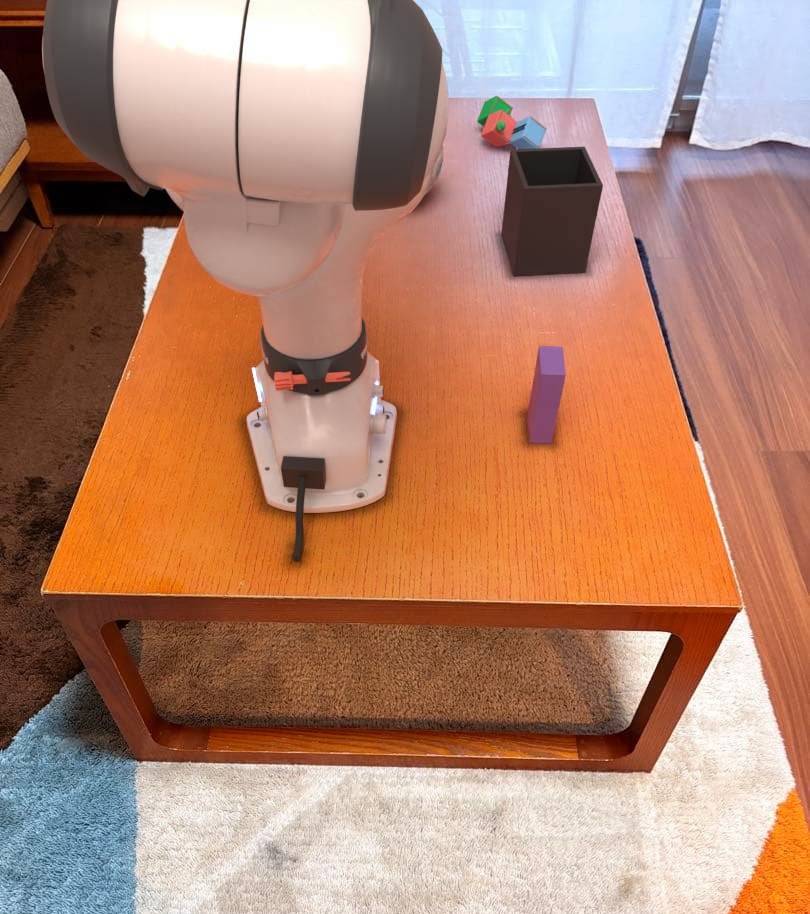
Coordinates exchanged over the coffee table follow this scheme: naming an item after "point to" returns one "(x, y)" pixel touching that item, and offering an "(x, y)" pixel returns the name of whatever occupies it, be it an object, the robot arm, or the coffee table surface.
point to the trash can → (550, 210)
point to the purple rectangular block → (546, 394)
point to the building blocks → (508, 126)
